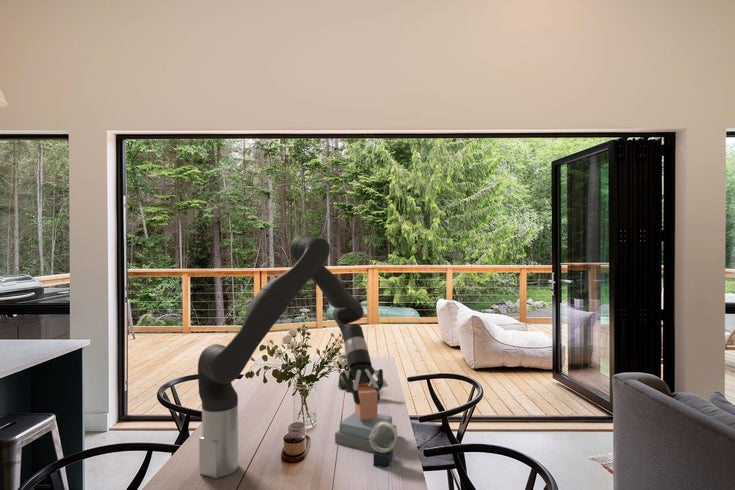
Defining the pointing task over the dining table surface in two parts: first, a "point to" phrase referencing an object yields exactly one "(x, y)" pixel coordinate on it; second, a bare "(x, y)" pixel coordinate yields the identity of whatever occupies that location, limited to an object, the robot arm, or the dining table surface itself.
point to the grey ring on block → (382, 453)
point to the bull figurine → (376, 383)
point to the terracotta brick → (366, 403)
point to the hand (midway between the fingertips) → (368, 402)
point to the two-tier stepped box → (363, 432)
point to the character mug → (343, 366)
